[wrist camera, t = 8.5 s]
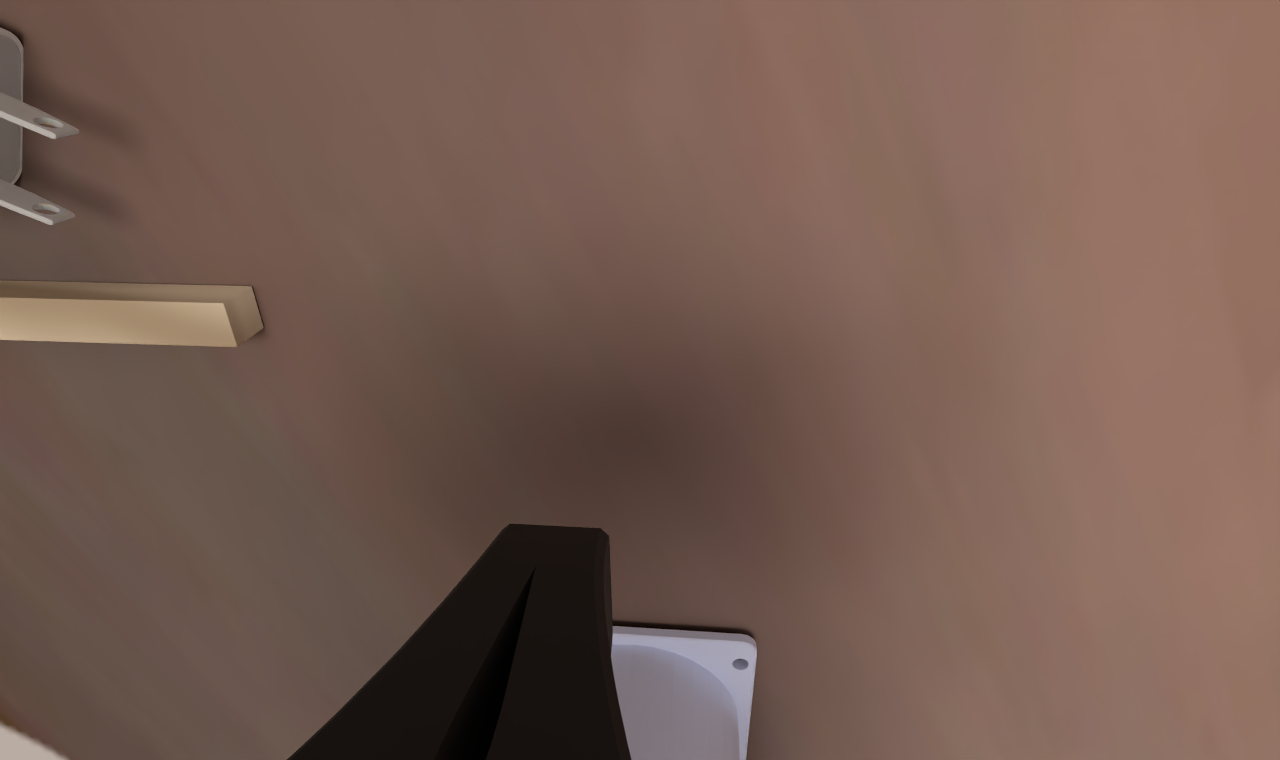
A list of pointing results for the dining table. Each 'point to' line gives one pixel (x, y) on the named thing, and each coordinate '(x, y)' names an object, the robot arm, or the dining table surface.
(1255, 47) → the dining table surface
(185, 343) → the charger bay
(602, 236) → the dining table surface
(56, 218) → the usb wall charger
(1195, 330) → the dining table surface
